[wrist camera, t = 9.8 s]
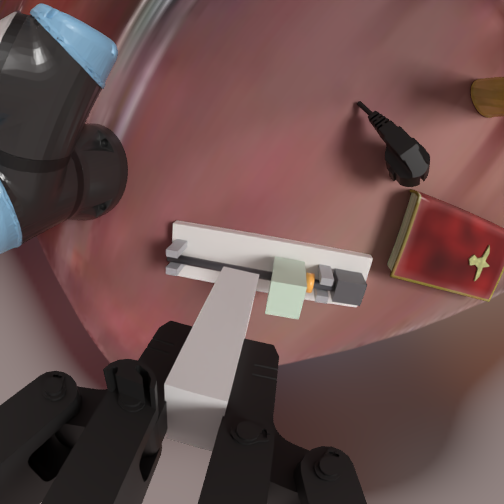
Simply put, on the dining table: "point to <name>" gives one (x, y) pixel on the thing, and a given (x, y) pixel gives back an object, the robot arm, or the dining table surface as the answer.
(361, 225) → the dining table surface
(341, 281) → the linear slide rail
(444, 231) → the hardcover book
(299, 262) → the pale green block
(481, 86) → the vase
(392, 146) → the power plug
